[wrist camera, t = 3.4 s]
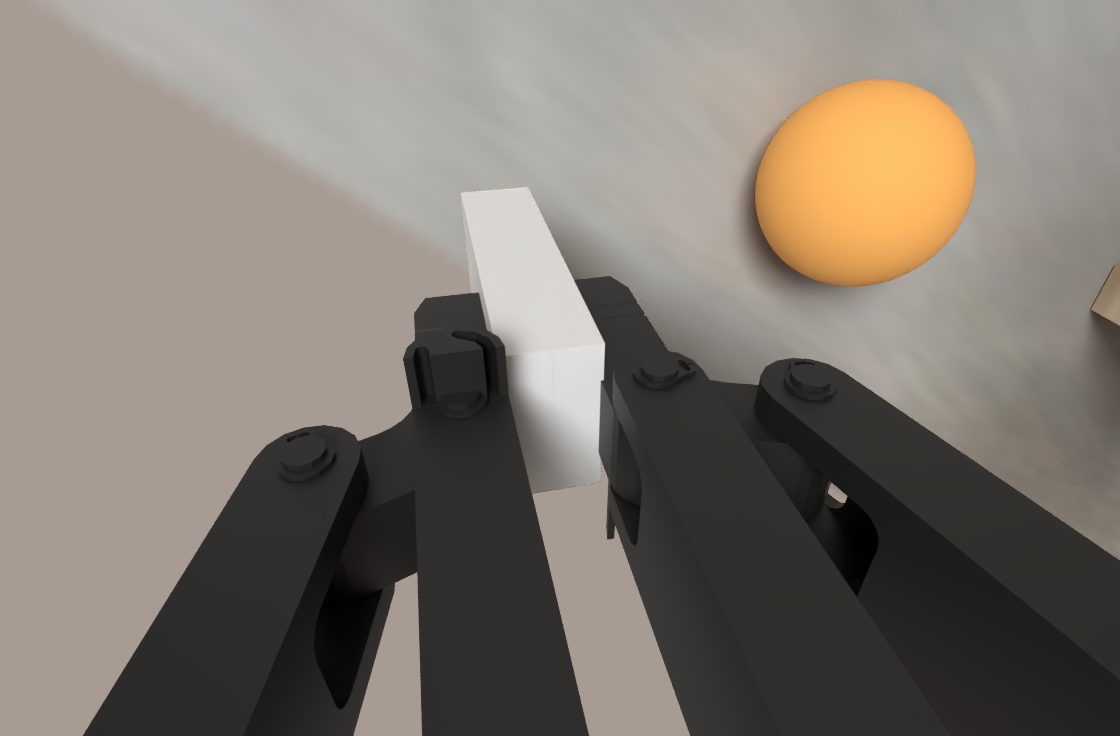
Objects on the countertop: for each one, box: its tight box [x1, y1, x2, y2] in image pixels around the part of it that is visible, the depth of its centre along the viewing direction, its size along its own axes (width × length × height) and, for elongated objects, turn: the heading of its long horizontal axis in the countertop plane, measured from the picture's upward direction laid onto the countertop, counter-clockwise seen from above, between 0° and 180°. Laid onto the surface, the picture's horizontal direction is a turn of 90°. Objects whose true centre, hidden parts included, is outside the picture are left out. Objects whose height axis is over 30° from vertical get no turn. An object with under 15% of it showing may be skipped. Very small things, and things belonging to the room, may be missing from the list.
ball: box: [755, 80, 976, 286], centre depth 17 cm, size 6×6×6 cm
